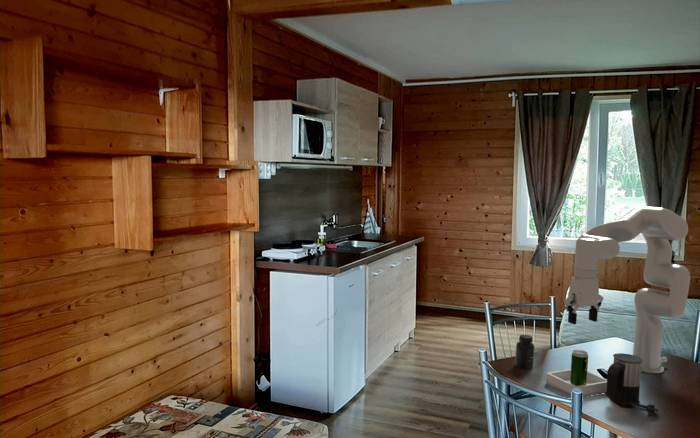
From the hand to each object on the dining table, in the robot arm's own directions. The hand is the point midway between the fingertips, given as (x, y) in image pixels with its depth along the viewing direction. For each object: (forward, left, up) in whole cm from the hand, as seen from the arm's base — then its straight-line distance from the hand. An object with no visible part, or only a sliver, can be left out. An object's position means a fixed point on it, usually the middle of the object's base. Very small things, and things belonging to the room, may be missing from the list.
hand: (582, 322), depth 195 cm
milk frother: (-6, +17, -24) cm, 30 cm away
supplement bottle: (+3, -24, -24) cm, 34 cm away
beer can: (0, 0, -23) cm, 23 cm away
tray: (0, 0, -24) cm, 24 cm away
